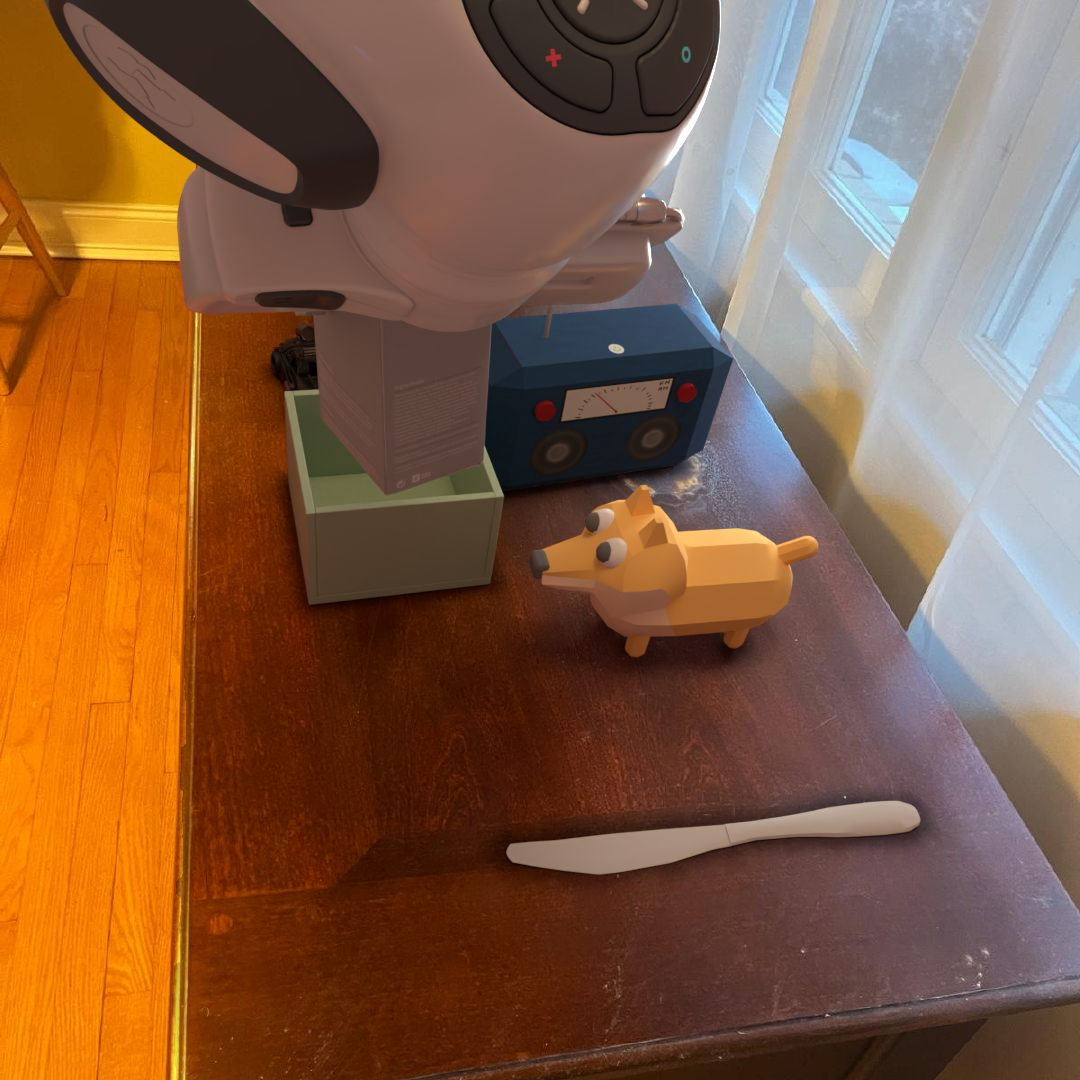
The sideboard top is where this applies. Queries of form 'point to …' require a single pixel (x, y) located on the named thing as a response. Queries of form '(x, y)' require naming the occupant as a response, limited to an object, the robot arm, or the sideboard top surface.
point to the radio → (599, 393)
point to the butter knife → (709, 838)
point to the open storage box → (383, 519)
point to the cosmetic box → (403, 396)
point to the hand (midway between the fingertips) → (395, 297)
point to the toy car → (297, 360)
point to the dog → (671, 573)
